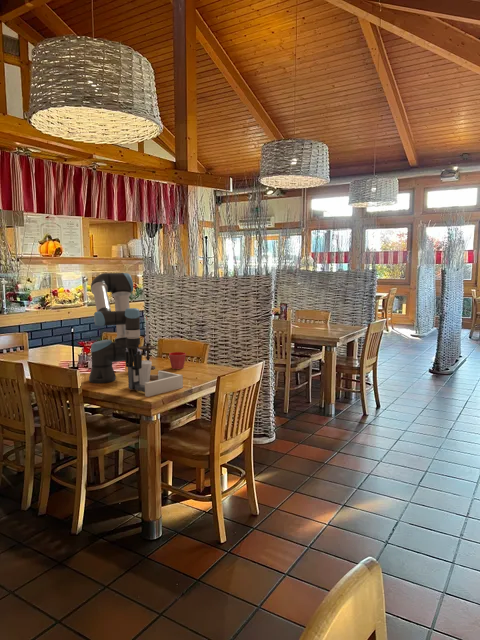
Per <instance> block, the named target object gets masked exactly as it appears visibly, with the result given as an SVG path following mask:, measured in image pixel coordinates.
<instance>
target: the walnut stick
mask: <svg viewBox="0 0 480 640" xmlns="http://www.w3.org/2000/svg"><path fill="white" fill-rule="evenodd" d="M155 380H158V373H157V374H150V380H149V381H155Z"/></svg>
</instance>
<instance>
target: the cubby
mask: <svg viewBox="0 0 480 640" xmlns="http://www.w3.org/2000/svg"><path fill="white" fill-rule="evenodd" d="M157 374H158V380H150V381H149V382H147V383H145V392H144V396H145V397H147V398H149V397H153V396H157V395H160V394H164V393H168V392H172V391H176V390H179V389H183V387H184V375H183V374H179V373H178V374H177V373H173V372H169V371H165V370H157Z"/></svg>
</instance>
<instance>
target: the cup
mask: <svg viewBox="0 0 480 640" xmlns="http://www.w3.org/2000/svg"><path fill="white" fill-rule="evenodd" d="M152 364H153V363H152V360H149V361H147V359H146V360H143V359H142V368H141V369H139V380H140V384H141V385H145V383H147V382H150V381H151V380H150V375H151V371H152V370H151V366H153V365H152Z"/></svg>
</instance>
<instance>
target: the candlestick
mask: <svg viewBox="0 0 480 640" xmlns="http://www.w3.org/2000/svg"><path fill="white" fill-rule="evenodd" d="M145 318H146V319H145V320H146V322H145V341H146V342H145V345H143V346H139V350H140V351H145V352H146V357H145V359H146V360H147V361H150V358H151V356H150V351H152V350H153V351H154V350H156V349H157V346H156V345H150V327H149V326H150V324H149V323H150V322H149V321H148V317H147V315H146V316H145ZM152 370H156V366H154V365H152V366H151V371H152Z"/></svg>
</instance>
